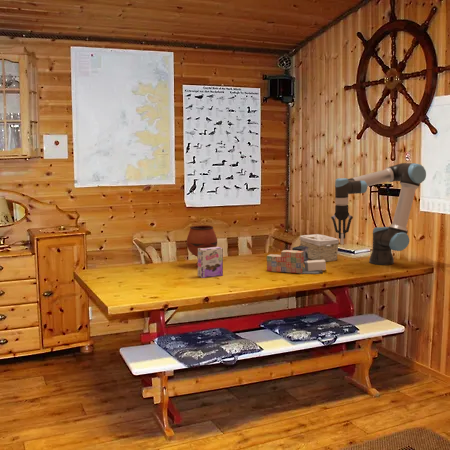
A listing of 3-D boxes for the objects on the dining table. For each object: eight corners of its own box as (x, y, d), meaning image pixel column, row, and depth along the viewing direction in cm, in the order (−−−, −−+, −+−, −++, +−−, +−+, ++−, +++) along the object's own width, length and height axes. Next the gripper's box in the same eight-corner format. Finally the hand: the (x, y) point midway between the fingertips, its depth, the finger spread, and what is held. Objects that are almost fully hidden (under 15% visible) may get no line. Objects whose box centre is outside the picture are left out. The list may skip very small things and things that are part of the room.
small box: (300, 265, 363) (300, 248, 362) (291, 263, 367) (291, 247, 366) (308, 262, 371) (308, 246, 370) (299, 261, 375) (300, 245, 374)
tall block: (324, 259, 347) (304, 260, 348) (325, 261, 341) (305, 262, 342) (324, 267, 347) (304, 269, 348) (325, 269, 342) (305, 271, 342)
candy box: (201, 278, 328) (201, 249, 326) (197, 276, 333) (197, 248, 331) (223, 275, 334) (223, 247, 332) (218, 273, 340) (218, 246, 337)
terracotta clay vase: (181, 267, 357) (181, 227, 353) (194, 262, 374) (194, 223, 371) (210, 270, 349) (209, 229, 346) (222, 264, 367) (221, 225, 364)
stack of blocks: (266, 271, 346) (266, 251, 344) (270, 269, 351) (269, 249, 350) (301, 273, 337) (300, 252, 335) (304, 271, 342) (303, 250, 341)
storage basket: (339, 260, 376) (340, 238, 374) (319, 263, 369) (319, 240, 367) (318, 254, 398) (318, 233, 396) (298, 256, 390) (298, 235, 388)
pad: (319, 268, 353) (319, 266, 353) (322, 274, 337) (322, 272, 337) (297, 268, 353) (297, 266, 353) (299, 274, 338) (299, 272, 337)
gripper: (351, 203, 342) (351, 242, 346) (329, 204, 343) (330, 243, 346) (354, 205, 335) (354, 245, 338) (331, 205, 336) (331, 245, 339)
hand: (341, 244), depth 342 cm, fingers closed
